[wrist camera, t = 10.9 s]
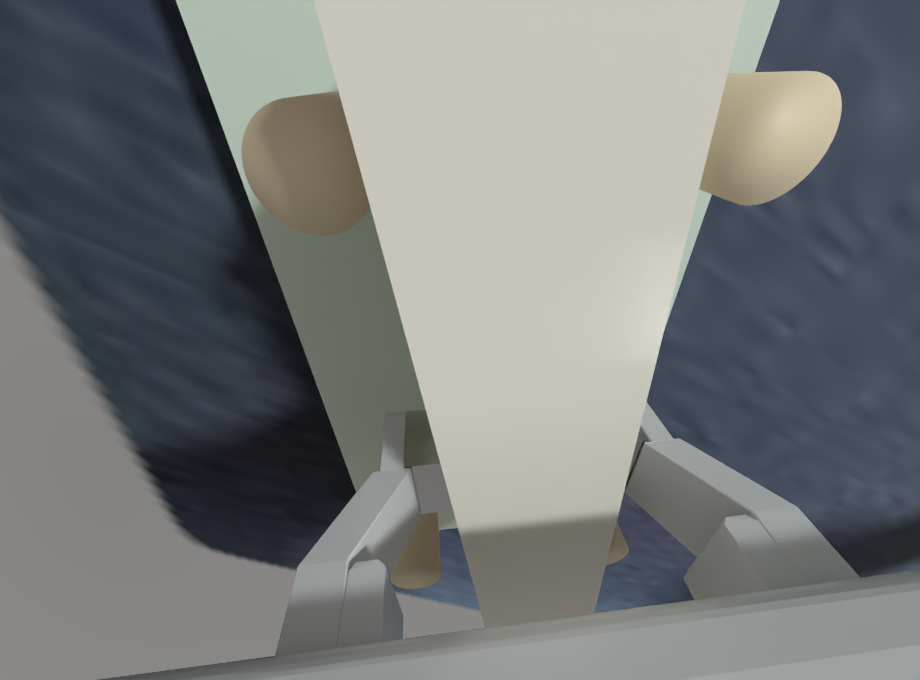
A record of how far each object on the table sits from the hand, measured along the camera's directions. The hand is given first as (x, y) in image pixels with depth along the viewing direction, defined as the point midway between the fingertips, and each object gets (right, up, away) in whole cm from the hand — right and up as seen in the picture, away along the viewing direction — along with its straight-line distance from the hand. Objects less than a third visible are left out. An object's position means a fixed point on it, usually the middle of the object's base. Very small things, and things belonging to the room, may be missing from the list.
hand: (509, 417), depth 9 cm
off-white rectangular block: (0, +1, +2) cm, 2 cm away
